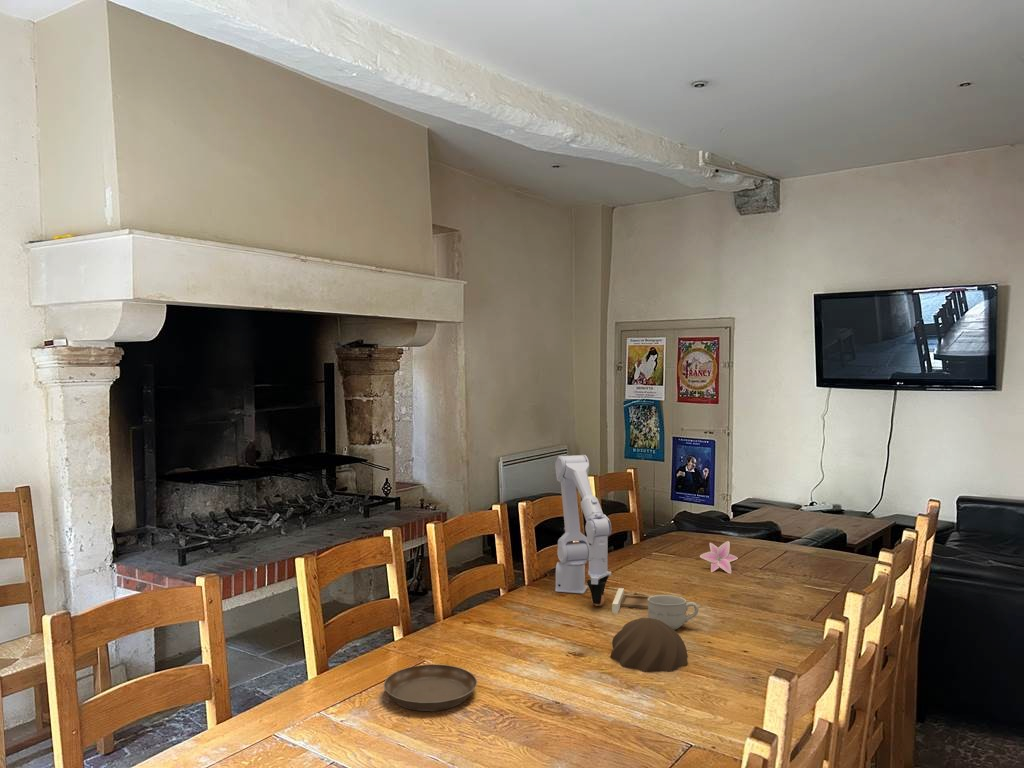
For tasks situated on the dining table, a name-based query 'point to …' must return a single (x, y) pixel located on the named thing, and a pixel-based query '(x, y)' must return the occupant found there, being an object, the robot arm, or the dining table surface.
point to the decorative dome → (649, 646)
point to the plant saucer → (430, 687)
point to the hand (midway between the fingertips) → (597, 601)
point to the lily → (719, 557)
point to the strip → (617, 600)
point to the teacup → (670, 610)
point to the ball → (600, 602)
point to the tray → (635, 601)
